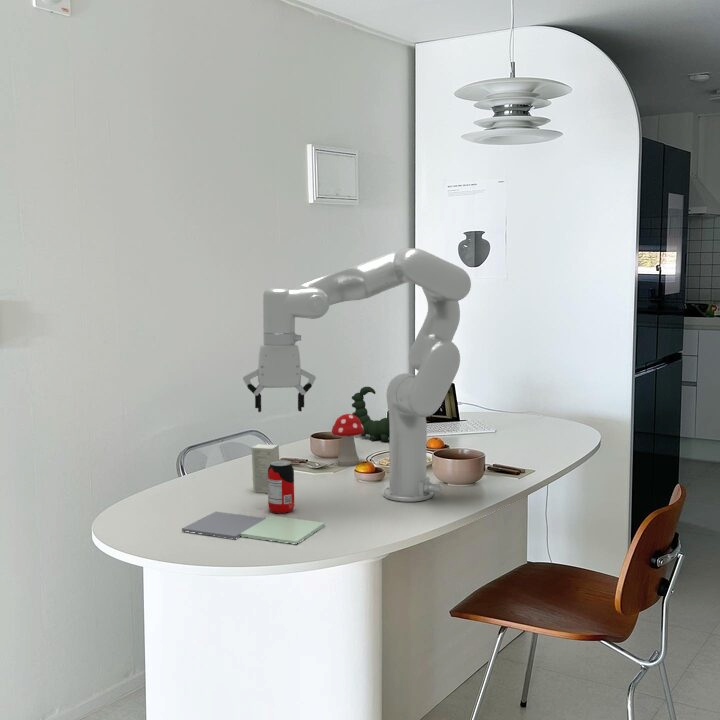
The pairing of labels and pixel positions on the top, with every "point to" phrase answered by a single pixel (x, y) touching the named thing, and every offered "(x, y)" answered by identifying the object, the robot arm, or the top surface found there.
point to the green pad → (282, 529)
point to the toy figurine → (370, 427)
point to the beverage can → (280, 486)
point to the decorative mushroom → (347, 438)
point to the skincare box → (262, 465)
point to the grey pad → (223, 524)
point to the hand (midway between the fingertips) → (279, 410)
